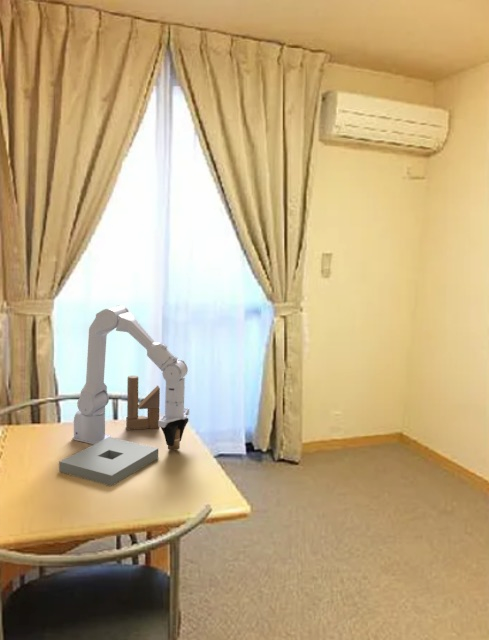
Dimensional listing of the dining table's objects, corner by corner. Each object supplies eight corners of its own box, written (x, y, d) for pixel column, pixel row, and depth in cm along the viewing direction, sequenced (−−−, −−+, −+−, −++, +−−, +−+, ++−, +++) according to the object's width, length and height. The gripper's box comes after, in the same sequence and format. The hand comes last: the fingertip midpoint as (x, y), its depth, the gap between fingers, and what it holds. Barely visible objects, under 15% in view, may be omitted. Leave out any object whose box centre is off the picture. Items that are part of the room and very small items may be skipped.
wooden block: (159, 428, 201) (160, 377, 198) (127, 430, 197) (127, 378, 194) (157, 424, 204) (158, 374, 201) (126, 426, 201) (126, 375, 198)
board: (59, 471, 164) (59, 461, 163) (109, 446, 183) (109, 436, 183) (111, 486, 156) (111, 475, 156) (158, 457, 176) (158, 448, 175)
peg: (165, 448, 181) (165, 430, 180) (171, 445, 184) (172, 426, 183) (175, 451, 179) (175, 432, 178) (181, 447, 182) (182, 428, 181)
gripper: (173, 409, 171) (172, 453, 173) (198, 396, 184) (196, 438, 186) (152, 404, 174) (151, 448, 176) (178, 393, 187) (177, 433, 189)
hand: (173, 443), depth 181 cm, fingers closed on peg, 4 cm apart
